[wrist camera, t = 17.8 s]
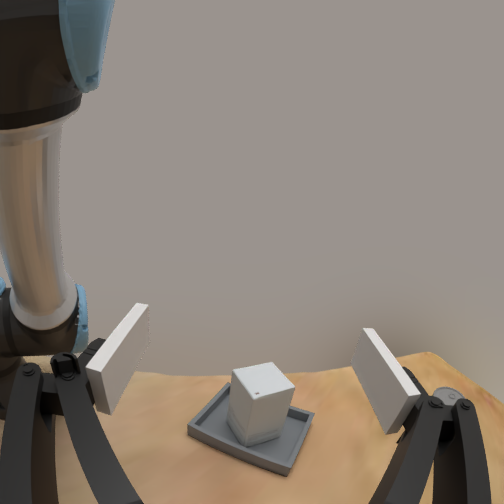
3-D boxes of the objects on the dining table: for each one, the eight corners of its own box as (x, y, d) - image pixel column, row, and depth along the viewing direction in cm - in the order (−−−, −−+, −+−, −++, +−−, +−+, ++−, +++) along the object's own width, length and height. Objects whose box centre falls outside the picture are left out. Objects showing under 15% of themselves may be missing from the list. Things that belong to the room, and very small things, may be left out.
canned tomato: (430, 456, 34) (459, 417, 31) (402, 438, 40) (427, 398, 37) (445, 435, 38) (470, 397, 35) (419, 419, 44) (441, 381, 42)
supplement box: (281, 437, 41) (297, 387, 38) (242, 449, 37) (252, 399, 34) (261, 411, 47) (273, 360, 44) (224, 419, 44) (231, 368, 41)
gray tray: (187, 434, 40) (187, 424, 39) (226, 392, 52) (227, 382, 51) (286, 476, 33) (290, 468, 32) (310, 423, 45) (314, 413, 45)
